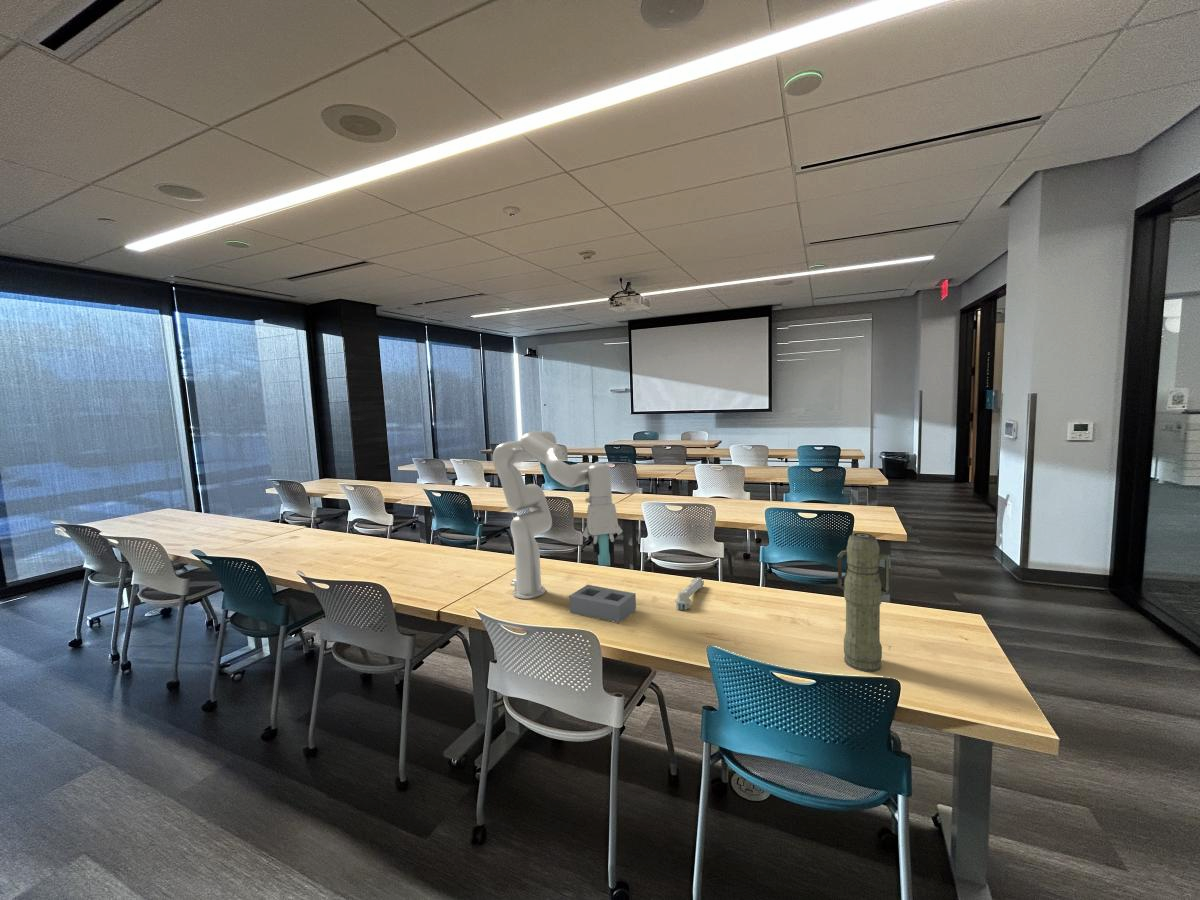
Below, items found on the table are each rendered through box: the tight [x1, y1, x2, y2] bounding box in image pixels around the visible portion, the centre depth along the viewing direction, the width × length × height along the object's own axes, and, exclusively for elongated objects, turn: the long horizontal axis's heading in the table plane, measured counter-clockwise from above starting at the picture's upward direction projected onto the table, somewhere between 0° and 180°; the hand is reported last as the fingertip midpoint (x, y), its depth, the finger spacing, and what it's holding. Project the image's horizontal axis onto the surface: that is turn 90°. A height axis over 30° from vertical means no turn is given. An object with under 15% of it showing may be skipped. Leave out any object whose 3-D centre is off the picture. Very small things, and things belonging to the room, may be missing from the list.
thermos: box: [836, 532, 890, 673], centre depth 128 cm, size 9×12×35 cm
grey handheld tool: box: [674, 577, 705, 611], centre depth 178 cm, size 5×7×25 cm
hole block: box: [568, 584, 637, 624], centre depth 169 cm, size 20×12×6 cm, turn 59°
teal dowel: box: [597, 534, 611, 567], centre depth 164 cm, size 4×4×12 cm
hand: (603, 552), depth 164 cm, fingers closed on teal dowel, 4 cm apart
